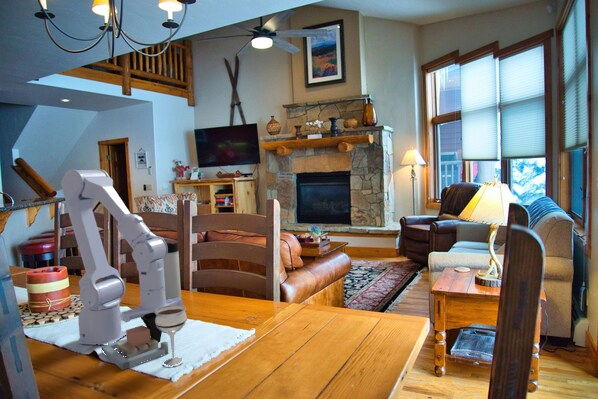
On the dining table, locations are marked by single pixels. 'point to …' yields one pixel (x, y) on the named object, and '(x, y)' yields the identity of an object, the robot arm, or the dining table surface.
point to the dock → (132, 361)
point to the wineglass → (171, 325)
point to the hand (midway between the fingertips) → (155, 341)
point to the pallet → (136, 348)
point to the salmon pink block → (138, 335)
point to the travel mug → (172, 272)
